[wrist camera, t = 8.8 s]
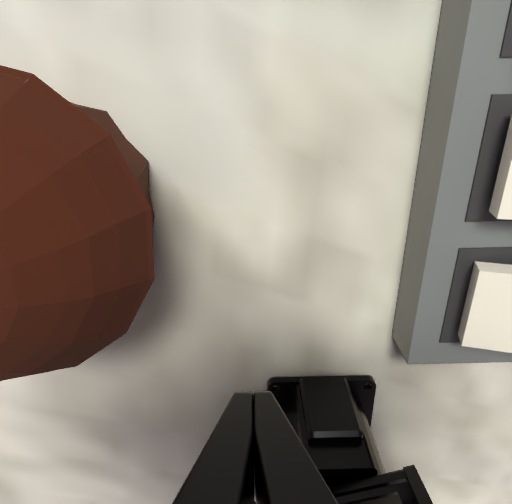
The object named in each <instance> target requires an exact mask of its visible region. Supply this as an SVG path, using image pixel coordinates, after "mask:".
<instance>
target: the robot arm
mask: <svg viewBox="0 0 512 504" xmlns="http://www.w3.org/2000/svg"><path fill="white" fill-rule="evenodd" d="M367 383H369V384H368V385H365V384H367ZM273 386H278V387H273ZM375 390H376V384H375V381H374V379H373V378H372V377H371V376H323V377H279V378H272V379H270V380H269V381H268V383H267V391H255V392H254V393H252V392H250V391H247V392H236V393H234V395H233V396H232V398H231V400H230V402H229V403H228V405H227V407H226V409H225V411H224V412H223V414H222V416H221V418H220V419H219V421H218V423H217V425H216V427H215V428H214V430H213V432H212V434H211V435H210V437H209V439H208V441H207V443H206V444H205V446H204V448H203V450H202V451H201V453H200V455H199V457H198V459H197V460H196V462H195V464H194V466H193V467H192V469H191V471H190V473H189V475H188V476H187V478H186V480H185V482H184V483H183V485H182V487H181V489H180V491H179V492H178V494H177V496H176V498H175V499H174V501H173V503H172V504H433V503H432V501H431V499H430V497H429V495H428V493H427V491H426V488H425V486H424V484H423V482H422V480H421V478H420V476H419V474H418V472H417V470H416V468H415V466H414V465H411V466H406V467H403V469H402V470H398V471H394V472H389V473H385V471H384V468H383V465H382V462H381V459H380V456H379V453H378V450H377V447H376V444H375V441H374V438H373V435H372V432H371V429H370V426H371V418H372V411H373V404H374V397H375ZM254 467H255V471H254ZM254 496H256V502H255V501H254Z"/></svg>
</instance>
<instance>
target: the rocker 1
mask: <svg viewBox="0 0 512 504" xmlns="http://www.w3.org/2000/svg"><path fill="white" fill-rule="evenodd" d="M458 336H459V339H460V343H461V346H465V347H472V348H480V349H487V350H494V351H501V352H508V353H512V265H510V264H499V263H488V262H477V261H475V262H474V266H473V271H472V275H471V279H470V284H469V288H468V292H467V296H466V301H465V305H464V309H463V314H462V318H461V322H460V326H459V331H458Z"/></svg>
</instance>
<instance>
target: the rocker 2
mask: <svg viewBox="0 0 512 504" xmlns="http://www.w3.org/2000/svg"><path fill="white" fill-rule="evenodd" d="M489 212H490V213H491V214H492V215H493V216H494V217H496V218H497V219H509V220H512V115H511V119H510V124H509V128H508V132H507V136H506V141H505V145H504V149H503V153H502V158H501V162H500V166H499V170H498V175H497V179H496V183H495V187H494V192H493V196H492V200H491V204H490V208H489Z"/></svg>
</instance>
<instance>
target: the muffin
mask: <svg viewBox="0 0 512 504" xmlns="http://www.w3.org/2000/svg"><path fill="white" fill-rule="evenodd" d="M153 222H154V213H153V208H152V203H151V198H150V194H149V175H148V160H147V159H146V158H145V157H144V156H143V155H142V154H141V153H140V152H139V151H138V150H137V149H136V148H135V147H134V146H133V145H132V144H131V143H130V142H129V141H128V140H127V139H126V138H125V137H124V135H123V134H122V133H121V131H120V130H119V128H118V127H117V125H116V124H115V123H114V121H113V120H112V118H111V117H110V116H109V114H108V113H107V111H103V110H98V109H94V108H90V107H85V106H81V105H76V104H73V103H71V102H69V101H67V100H66V99H65V98H63V97H62V96H61V95H59V94H58V93H57V92H56V91H54V90H53V89H52V88H50V87H49V86H48V85H47V84H45V83H44V82H43V81H41V80H40V79H39V78H38V77H36V76H35V75H34V74H32V73H28V72H24V71H20V70H16V69H12V68H9V67H5V66H1V65H0V381H2V380H7V379H12V378H18V377H23V376H28V375H34V374H39V373H44V372H49V371H53V370H58V369H64V368H70V367H75V366H78V365H79V364H81V363H82V362H84V361H85V360H87V359H88V358H90V357H91V356H93V355H94V354H95V353H97V352H98V351H100V350H101V349H103V348H104V347H106V346H107V345H109V344H110V343H112V342H113V341H115V340H116V339H118V338H119V337H121V336H122V335H124V334H125V333H126V332H127V330H128V328H129V327H130V325H131V323H132V321H133V319H134V317H135V315H136V313H137V311H138V309H139V307H140V305H141V303H142V301H143V299H144V297H145V296H146V294H147V292H148V290H149V288H150V286H151V284H152V282H153V280H154V262H153V238H152V227H153Z"/></svg>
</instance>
